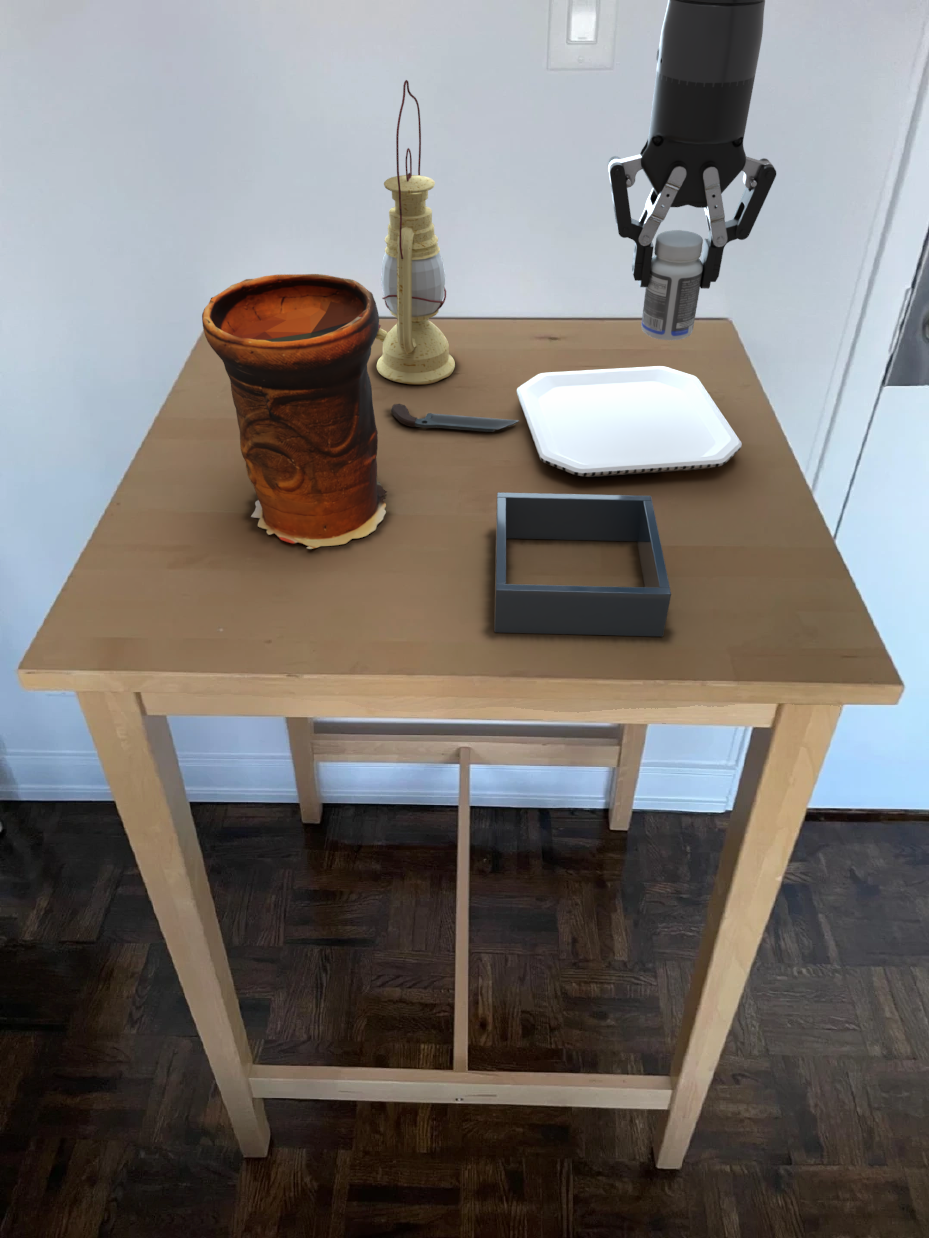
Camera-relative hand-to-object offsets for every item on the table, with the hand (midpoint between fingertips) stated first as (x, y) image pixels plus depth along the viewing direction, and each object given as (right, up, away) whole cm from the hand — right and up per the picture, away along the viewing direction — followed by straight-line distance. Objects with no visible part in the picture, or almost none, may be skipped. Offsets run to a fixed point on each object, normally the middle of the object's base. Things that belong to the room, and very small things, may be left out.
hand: (673, 284), depth 84 cm
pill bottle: (0, -3, +3) cm, 5 cm away
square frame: (-9, -27, -3) cm, 28 cm away
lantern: (-25, 0, +28) cm, 37 cm away
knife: (-20, -9, +18) cm, 28 cm away
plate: (-2, -10, +16) cm, 19 cm away
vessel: (-33, -19, +6) cm, 39 cm away
